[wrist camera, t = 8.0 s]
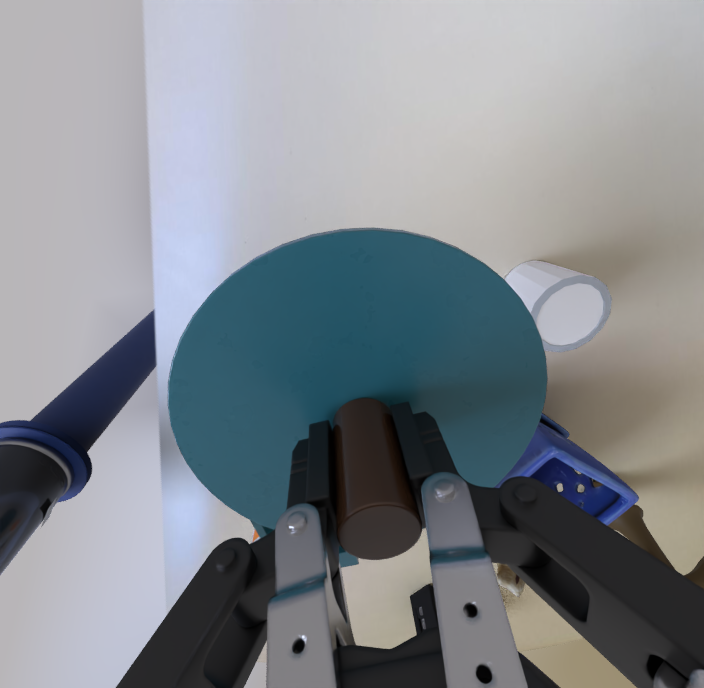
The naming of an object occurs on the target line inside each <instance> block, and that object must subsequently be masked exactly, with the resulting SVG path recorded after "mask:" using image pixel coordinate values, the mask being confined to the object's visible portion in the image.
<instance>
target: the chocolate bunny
mask: <svg viewBox="0 0 704 688" xmlns="http://www.w3.org/2000/svg"><path fill="white" fill-rule="evenodd" d="M497 565H498V573H497V582H498V583H499V585H500V586H502V587H504V588H506V589H508V590H509V591H511V592H512V593H513V594H514V595H515V596H517V597H519V596H520V595H521V593H522V591H523V588H524V585H525V582H524V581H523V580H522V579H521V578H520V577H519V576H518V575H517V574H515V573H514V572H513V571H512V570H511V569H510V568H509V567H508V565H507V564H500V563H497Z"/></svg>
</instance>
